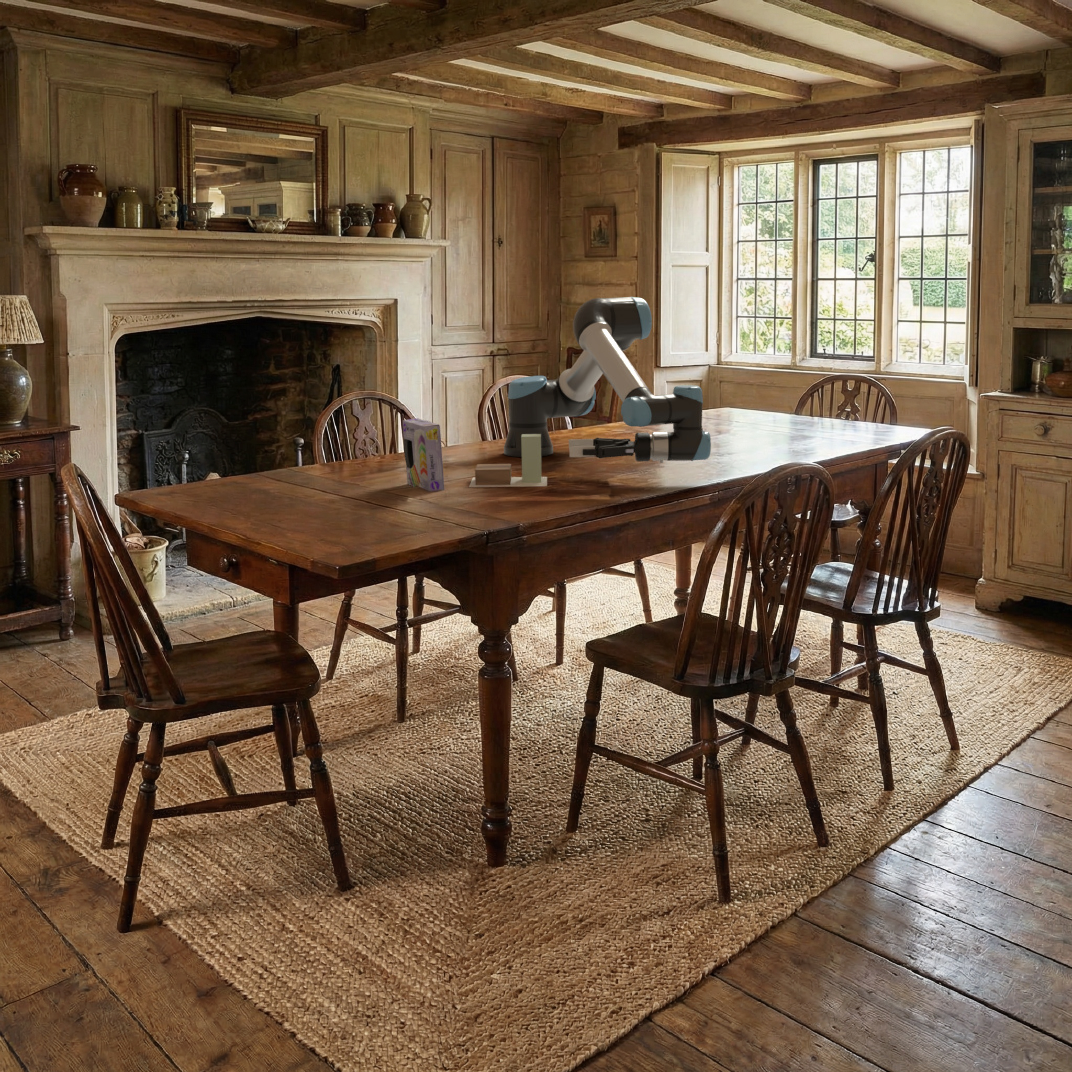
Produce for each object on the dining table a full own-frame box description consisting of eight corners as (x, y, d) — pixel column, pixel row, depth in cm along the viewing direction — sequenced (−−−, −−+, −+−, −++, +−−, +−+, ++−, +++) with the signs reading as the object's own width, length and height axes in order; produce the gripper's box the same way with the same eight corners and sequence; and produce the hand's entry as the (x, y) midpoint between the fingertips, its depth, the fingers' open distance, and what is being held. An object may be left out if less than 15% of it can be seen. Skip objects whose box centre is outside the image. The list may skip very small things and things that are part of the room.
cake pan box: (403, 483, 310) (401, 417, 306) (421, 482, 312) (419, 416, 308) (426, 495, 293) (424, 425, 289) (445, 493, 295) (443, 424, 291)
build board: (472, 481, 312) (472, 477, 312) (547, 480, 312) (547, 476, 311) (469, 490, 298) (469, 486, 298) (546, 489, 298) (546, 486, 298)
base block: (477, 479, 309) (477, 464, 308) (511, 478, 309) (511, 463, 308) (475, 485, 301) (475, 469, 300) (510, 484, 300) (509, 469, 300)
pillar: (522, 479, 308) (521, 434, 305) (541, 478, 308) (540, 434, 305) (522, 482, 303) (521, 436, 301) (541, 482, 303) (540, 436, 301)
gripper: (654, 468, 292) (569, 469, 292) (646, 454, 316) (568, 455, 316) (654, 438, 290) (569, 440, 290) (646, 426, 314) (568, 428, 315)
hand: (568, 448), depth 303 cm, fingers open, 13 cm apart
